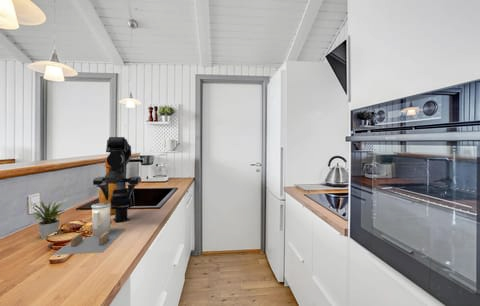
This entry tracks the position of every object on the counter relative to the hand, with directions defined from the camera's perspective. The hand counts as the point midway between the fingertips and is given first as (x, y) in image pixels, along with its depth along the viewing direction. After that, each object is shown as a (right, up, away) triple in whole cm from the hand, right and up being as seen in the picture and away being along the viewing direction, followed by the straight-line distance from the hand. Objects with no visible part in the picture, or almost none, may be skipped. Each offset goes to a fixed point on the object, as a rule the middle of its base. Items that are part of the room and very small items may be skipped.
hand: (118, 199), depth 111 cm
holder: (-1, -14, -16) cm, 21 cm away
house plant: (-24, -14, -11) cm, 30 cm away
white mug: (-2, -12, -10) cm, 16 cm away
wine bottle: (-17, -12, +24) cm, 32 cm away
